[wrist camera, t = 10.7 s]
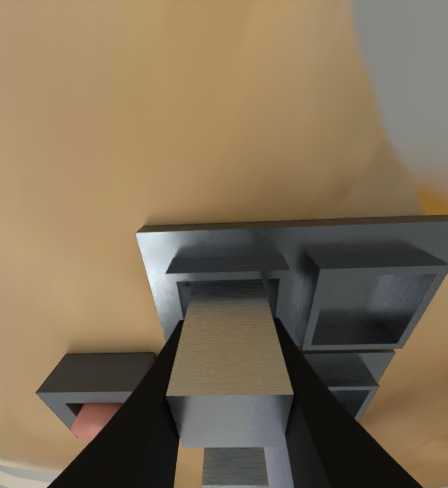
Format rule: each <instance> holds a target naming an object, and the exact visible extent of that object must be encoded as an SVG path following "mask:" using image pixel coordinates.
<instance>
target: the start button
mask: <svg viewBox="0 0 448 488" xmlns="http://www.w3.org/2000/svg"><path fill="white" fill-rule="evenodd" d="M122 405H123V403H84V405H83V407H82V409H81V410H80V412H79V414H78V416H77V418H76V419H75V421H74V423H73V425H72V427H71V432H72V433H73V434H74V435H75V436H77V437H79V438H81V439H83V440H86V441H89V442H91V441H92V440H93V439H94V437H95V436H96V435H97V434H98V433H99V432H100V431H101V430H102V428H103V427H104V426H105V425H106V424H107V423H108V421H109V420H110V419H111V418H112V417H113V415H114V414H115V413H116V412H117V411H118V410H119V408H120V407H121V406H122Z"/></svg>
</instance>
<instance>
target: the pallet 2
mask: <svg viewBox="0 0 448 488" xmlns="http://www.w3.org/2000/svg"><path fill="white" fill-rule="evenodd" d="M297 347H298V349H299V350H300V352H301V353H302V354H303V356H304V357H305V359H306V360H307V361H308V363H309V364H310V365H311V367H312V368H313V369H314V371H315V372H316V373H317V375H318V376H319V377H320V379H321V380H322V381H323V382H324V384H325V385H326V386H327V387H328V388H329V390H330V391H331V392H332V393H333V394H334V396H335V397H336V398H337V399H338V400H339V401H340V403H341V404H342V405H343V406H344V407H345V408H346V409H347V411H348V412H349V413H350V414H351V415H352V416H353V417H354V418H355V419H356V421H357V422H358V421H359V420H360V418H361V416H362V415H363V413H364V411H365V410H366V408H367V406H368V405H369V403H370V401H371V400H372V398H373V396H374V395H375V393H376V391H377V390H378V388H379V385H378V382H379V380H380V378H381V377H382V375H383V373H384V372H385V370H386V368H387V366H388V365H389V363H390V361H391V360H392V358H393V356H394V354H395V353H396V352H395V351H394V350H393V349H353V350H302V349H301V346H297Z"/></svg>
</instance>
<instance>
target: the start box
mask: <svg viewBox="0 0 448 488" xmlns="http://www.w3.org/2000/svg"><path fill="white" fill-rule="evenodd" d="M154 361H155V358H154V355H153V353H113V354H65V356H64V357H63V358H62V359H61V361H60V362H59V363H58V365H57V366H56V367H55V368H54V370H53V371H52V372H51V374H50V375H49V376H48V377H47V379H46V380H45V381H44V382H43V384H42V385H41V386H40V388H39V389H38V390H37V391H36V394H37V395H38V396H39V397H40V398H41V399H42V400H43V402H44V403H45V404H46V405H47V406H48V407H49V408H50V409H51V410H52V411H53V412H54V413H55V414H56V416H57V417H58V418H59V419H60V420H61V421H62V422H63V423H64V424H65V425H66V426H67V427H68V428H69V430H70V431H71V427H72V425H73V423H74V421H75V419H76V418H77V416H78V414H79V412H80V410H81V409H82V407H83V405H84V403H124V402H125V401H126V400H127V398H128V397H129V396H130V395H131V393H132V392H133V391H134V389H135V388H136V387H137V385H138V384H139V383H140V381H141V380H142V378H143V377H144V376H145V374H146V373H147V371H148V370H149V368H150V367H151V366H152V364H153V363H154ZM76 437H77V436H76ZM77 438H79V437H77Z"/></svg>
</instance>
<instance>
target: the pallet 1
mask: <svg viewBox="0 0 448 488" xmlns="http://www.w3.org/2000/svg"><path fill="white" fill-rule="evenodd" d="M136 236H137V239H138V243H139V247H140V250H141V254H142V257H143V261H144V265H145V268H146V272H147V275H148V279H149V282H150V286H151V290H152V293H153V297H154V300H155V304H156V308H157V311H158V315H159V318H160V322H161V326H162V329H163V333H164V336H165V340H166V342H167V341H168V339H169V337H170V336H171V334H172V332H173V330H174V329H175V327H176V325H177V323H178V321H179V320H185V316H186V312H187V308H188V304H189V299H190V295H191V291H192V287H193V283H194V281H207V280H241V279H262V282H263V285H264V289H265V292H266V296H267V300H268V303H269V307H270V310H271V314H272V318H279V319H280V320H281V322H282V324H283V325H284V327H285V329H286V330H287V332H288V334H289V335H290V337H291V338H292V340H293V341H294V343H295V344H296V346H301V349H302V350H353V349H402V348H403V346H404V345H405V343H406V341H407V340H408V338H409V336H410V335H411V333H412V331H413V330H414V328H415V326H416V325H417V323H418V321H419V320H420V318H421V316H422V315H423V313H424V311H425V310H426V308H427V306H428V305H429V303H430V301H431V300H432V298H433V296H434V295H435V293H436V291H437V290H438V288H439V286H440V285H441V283H442V281H443V280H444V278H445V276H446V275H447V273H448V215H430V216H403V217H377V218H350V219H324V220H298V221H271V222H245V223H218V224H192V225H165V226H143V227H142V228H141V229H139V230H138V231H137V232H136Z"/></svg>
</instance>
